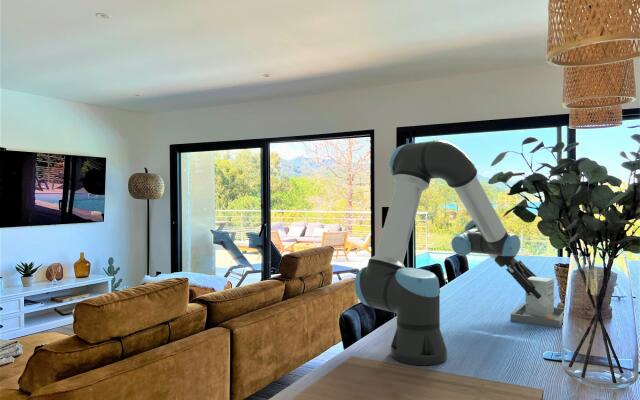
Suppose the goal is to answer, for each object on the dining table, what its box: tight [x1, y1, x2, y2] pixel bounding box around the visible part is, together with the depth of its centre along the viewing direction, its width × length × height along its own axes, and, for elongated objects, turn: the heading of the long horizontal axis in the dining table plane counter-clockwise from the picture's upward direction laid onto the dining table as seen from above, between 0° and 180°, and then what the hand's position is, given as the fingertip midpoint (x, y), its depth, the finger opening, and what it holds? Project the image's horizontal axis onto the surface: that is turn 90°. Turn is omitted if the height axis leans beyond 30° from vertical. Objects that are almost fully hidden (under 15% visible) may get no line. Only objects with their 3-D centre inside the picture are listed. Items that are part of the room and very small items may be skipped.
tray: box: [510, 303, 564, 328], centre depth 158 cm, size 18×15×3 cm
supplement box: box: [525, 276, 555, 318], centre depth 158 cm, size 7×7×13 cm
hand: (550, 302), depth 155 cm, fingers closed on supplement box, 8 cm apart
